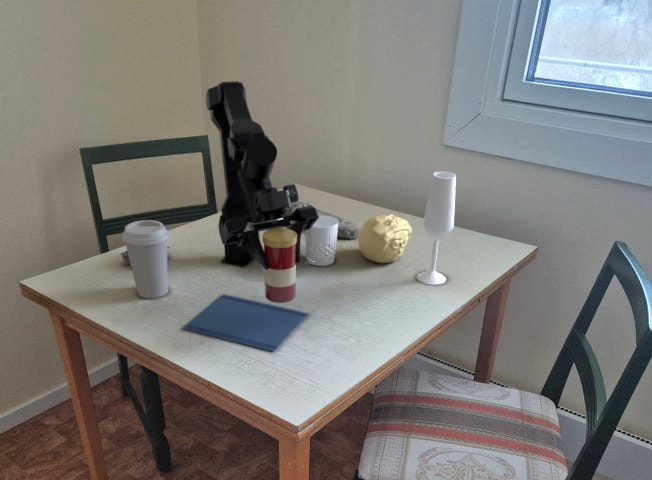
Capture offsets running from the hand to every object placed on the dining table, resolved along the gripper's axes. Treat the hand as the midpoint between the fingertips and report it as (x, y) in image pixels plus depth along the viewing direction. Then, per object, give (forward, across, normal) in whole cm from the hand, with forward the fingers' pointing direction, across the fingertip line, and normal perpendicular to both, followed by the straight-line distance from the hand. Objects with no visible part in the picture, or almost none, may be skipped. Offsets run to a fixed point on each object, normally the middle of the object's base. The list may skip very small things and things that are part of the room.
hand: (282, 266), depth 122 cm
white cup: (-8, +22, +28) cm, 36 cm away
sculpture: (-5, +36, +24) cm, 44 cm away
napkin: (+6, -6, +13) cm, 15 cm away
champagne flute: (+6, +40, +14) cm, 43 cm away
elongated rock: (-25, +30, +45) cm, 59 cm away
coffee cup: (-9, -20, +28) cm, 35 cm away
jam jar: (+4, 0, +6) cm, 7 cm away
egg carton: (-21, -16, +40) cm, 48 cm away
